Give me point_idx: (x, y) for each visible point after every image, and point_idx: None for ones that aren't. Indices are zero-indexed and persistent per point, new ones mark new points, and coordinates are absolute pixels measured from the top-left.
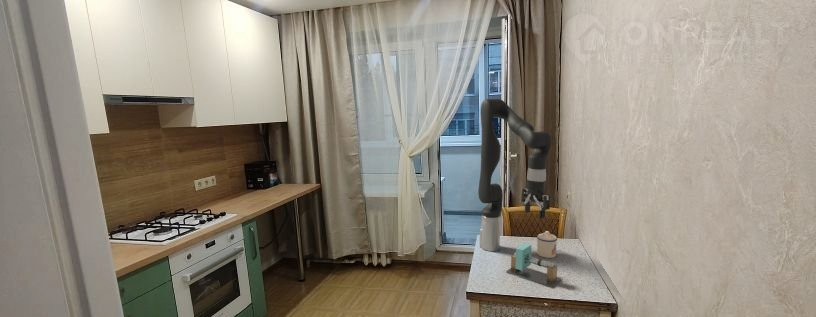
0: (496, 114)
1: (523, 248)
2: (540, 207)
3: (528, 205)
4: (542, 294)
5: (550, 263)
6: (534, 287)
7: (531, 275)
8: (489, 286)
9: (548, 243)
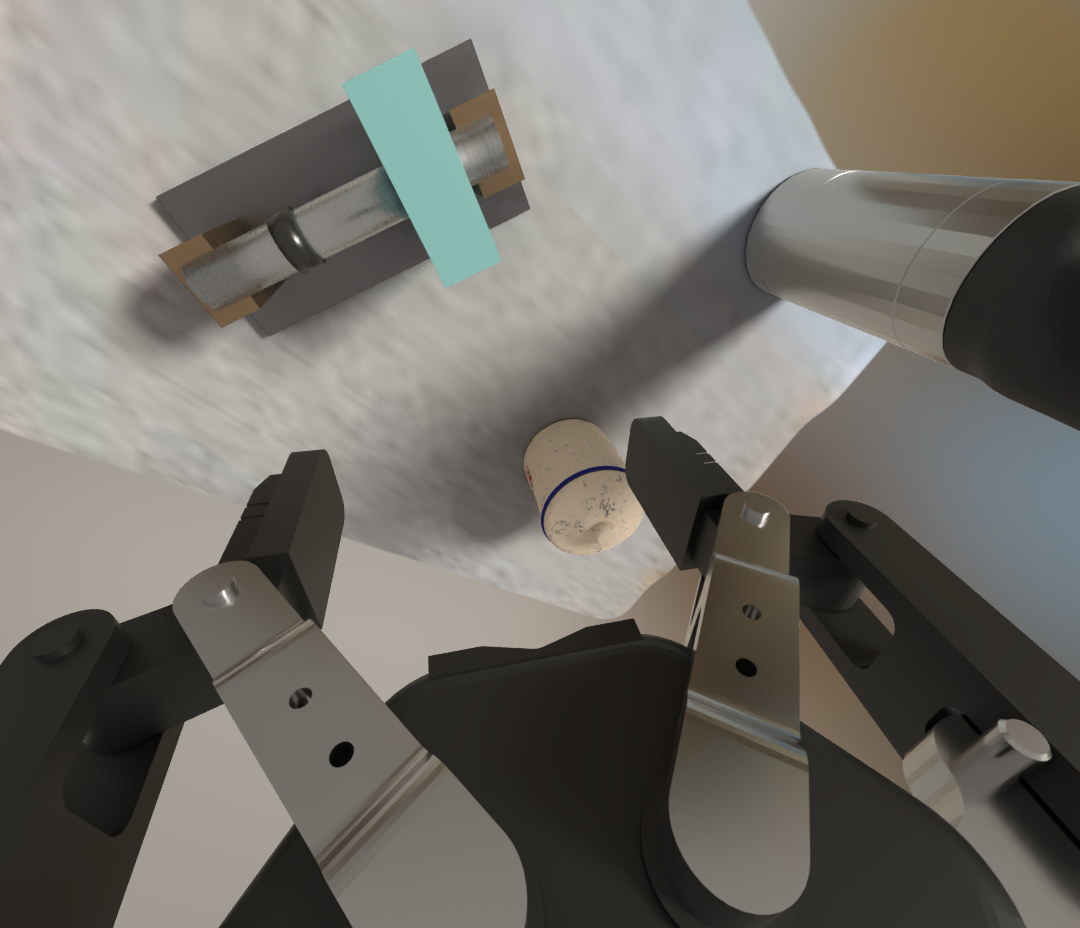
0: None
1: (386, 138)
2: (225, 615)
3: (682, 526)
4: (46, 33)
5: (205, 274)
6: (183, 68)
7: (347, 179)
8: None
9: (550, 485)
